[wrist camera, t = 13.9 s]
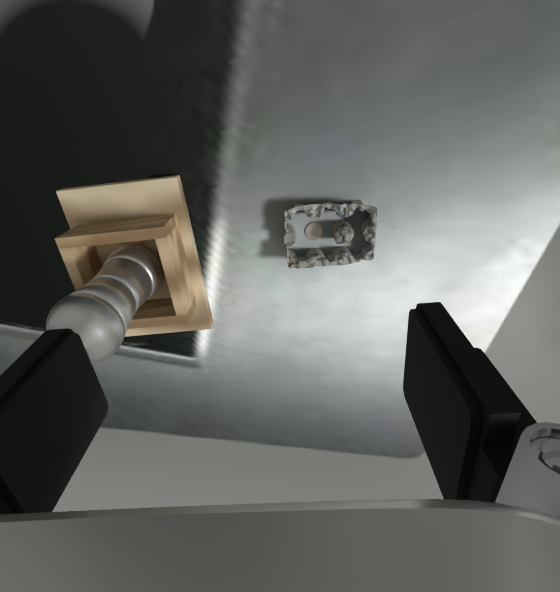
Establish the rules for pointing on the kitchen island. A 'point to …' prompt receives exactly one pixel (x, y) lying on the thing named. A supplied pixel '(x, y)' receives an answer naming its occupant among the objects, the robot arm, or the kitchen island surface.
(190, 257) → the tan wooden box
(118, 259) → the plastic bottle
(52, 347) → the robot arm
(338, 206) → the grey rocky tray
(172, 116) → the kitchen island surface
